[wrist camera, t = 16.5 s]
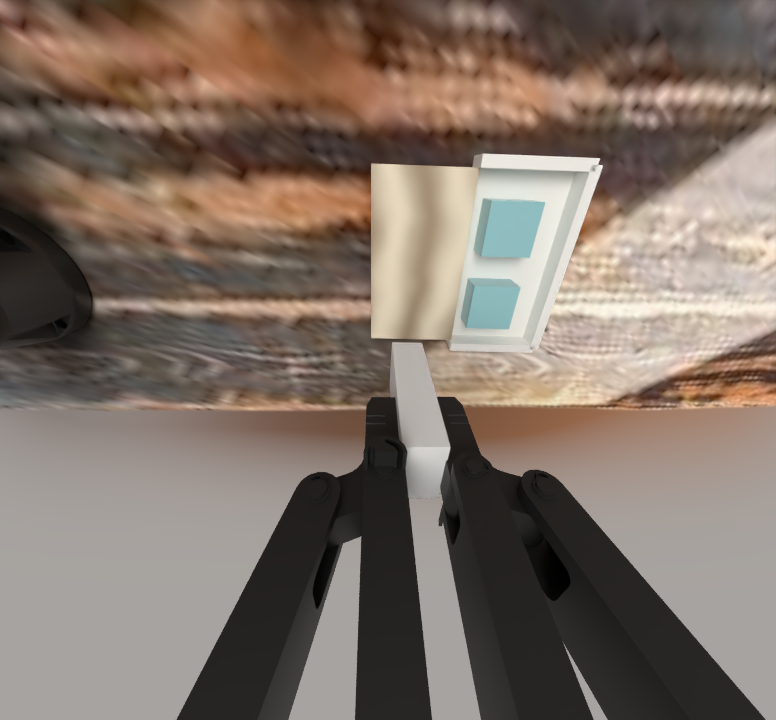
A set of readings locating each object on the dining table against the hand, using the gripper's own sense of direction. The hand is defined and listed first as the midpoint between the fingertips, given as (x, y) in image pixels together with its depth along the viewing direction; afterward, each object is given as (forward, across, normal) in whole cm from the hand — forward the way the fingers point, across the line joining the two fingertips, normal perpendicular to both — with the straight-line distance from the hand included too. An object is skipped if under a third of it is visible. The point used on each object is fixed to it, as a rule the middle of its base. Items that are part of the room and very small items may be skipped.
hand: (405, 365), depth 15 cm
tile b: (+21, +12, -4) cm, 24 cm away
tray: (+21, +13, 0) cm, 25 cm away
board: (+21, +3, 0) cm, 22 cm away
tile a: (+21, +12, +4) cm, 24 cm away
